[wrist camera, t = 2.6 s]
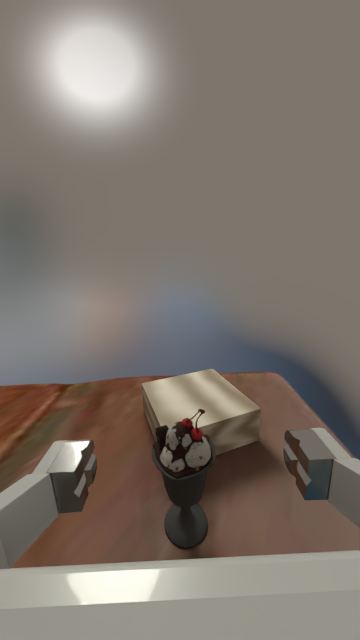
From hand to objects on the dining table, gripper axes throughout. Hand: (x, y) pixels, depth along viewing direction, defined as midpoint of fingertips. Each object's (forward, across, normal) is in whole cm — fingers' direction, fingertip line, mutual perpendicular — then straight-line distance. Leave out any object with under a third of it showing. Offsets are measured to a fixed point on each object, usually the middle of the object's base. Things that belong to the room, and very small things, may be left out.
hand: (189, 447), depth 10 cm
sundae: (+12, 0, +22) cm, 25 cm away
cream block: (+29, -2, +21) cm, 36 cm away
